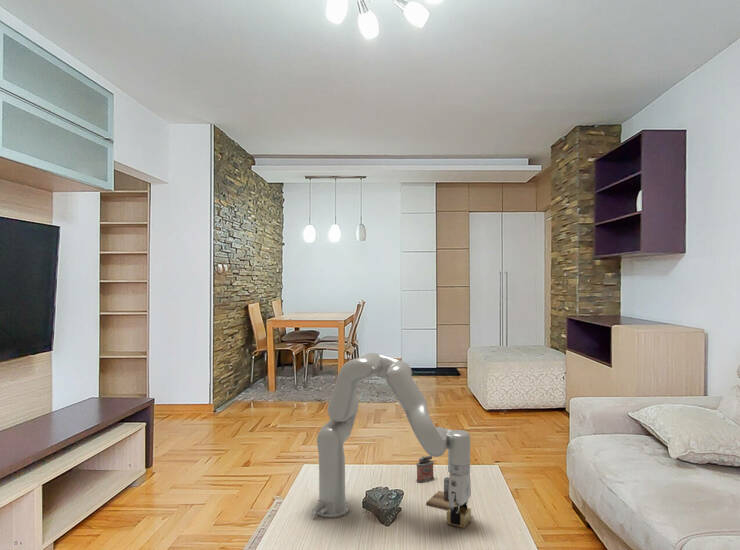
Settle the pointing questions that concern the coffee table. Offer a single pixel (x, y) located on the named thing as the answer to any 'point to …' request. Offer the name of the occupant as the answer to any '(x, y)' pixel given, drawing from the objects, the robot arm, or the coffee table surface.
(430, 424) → the robot arm
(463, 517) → the collar
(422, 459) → the lighter
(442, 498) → the stacked peg stand
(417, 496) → the coffee table surface
